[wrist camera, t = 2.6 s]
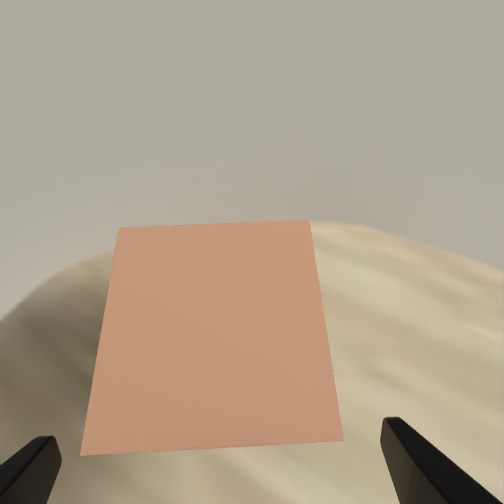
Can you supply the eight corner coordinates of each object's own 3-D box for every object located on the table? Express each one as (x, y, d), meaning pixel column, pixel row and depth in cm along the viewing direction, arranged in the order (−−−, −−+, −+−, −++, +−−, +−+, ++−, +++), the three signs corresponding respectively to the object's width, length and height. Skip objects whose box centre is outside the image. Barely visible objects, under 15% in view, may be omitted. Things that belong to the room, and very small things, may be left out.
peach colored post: (286, 418, 17) (343, 440, 7) (187, 423, 17) (79, 455, 6) (278, 320, 20) (308, 219, 9) (191, 324, 20) (118, 227, 9)
